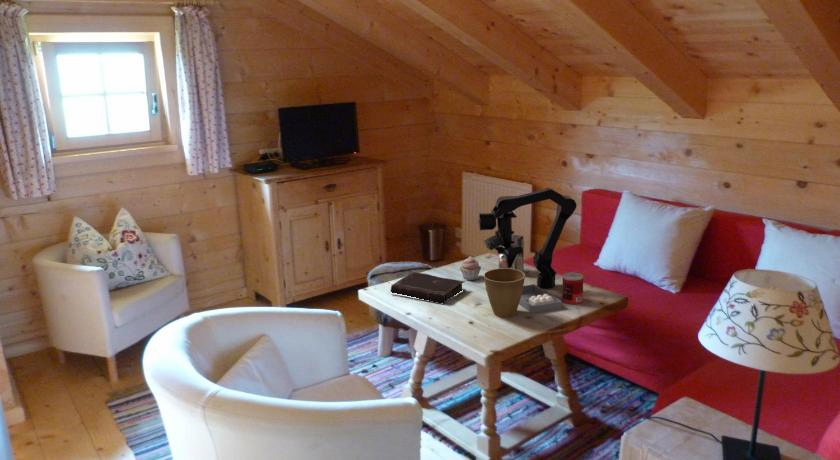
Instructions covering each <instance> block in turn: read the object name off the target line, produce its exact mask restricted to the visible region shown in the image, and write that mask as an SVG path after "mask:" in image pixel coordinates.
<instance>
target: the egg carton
mask: <svg viewBox="0 0 840 460" xmlns="http://www.w3.org/2000/svg"><path fill="white" fill-rule="evenodd" d="M550 302H554V299H553V298H552V297H551V296H549V295H548V294H544V295H543V296H542V295H538V296H537V297H536V296H532V297H531V298H529V303H530V304H531V305H538V304H544V303H550Z"/></svg>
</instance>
